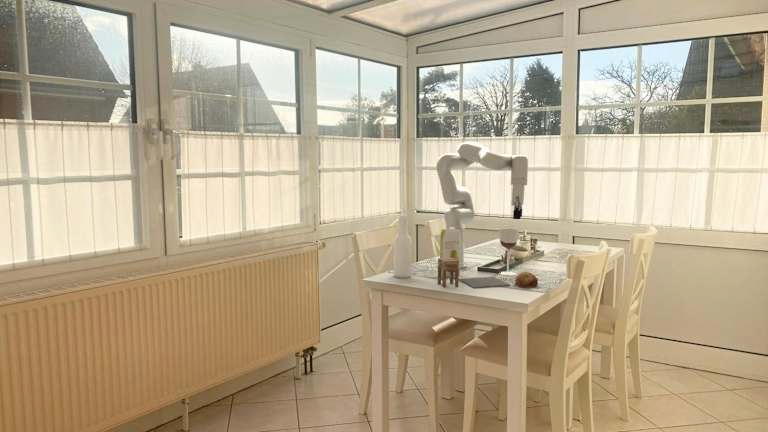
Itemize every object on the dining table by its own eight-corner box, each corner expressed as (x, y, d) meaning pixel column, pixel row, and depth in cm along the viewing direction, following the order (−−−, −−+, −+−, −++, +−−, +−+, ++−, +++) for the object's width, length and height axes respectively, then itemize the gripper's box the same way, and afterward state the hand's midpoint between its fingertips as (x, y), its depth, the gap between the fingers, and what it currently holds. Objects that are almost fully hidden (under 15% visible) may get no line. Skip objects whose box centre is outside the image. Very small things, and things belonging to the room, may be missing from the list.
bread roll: (515, 290, 264) (509, 275, 263) (535, 281, 264) (528, 265, 263) (522, 295, 254) (515, 280, 253) (543, 286, 255) (536, 270, 254)
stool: (437, 283, 260) (438, 258, 259) (452, 283, 262) (452, 257, 261) (443, 287, 254) (444, 261, 252) (458, 286, 256) (458, 260, 254)
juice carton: (444, 277, 274) (444, 228, 271) (438, 274, 281) (438, 226, 278) (461, 276, 276) (462, 228, 273) (455, 273, 284) (456, 225, 281)
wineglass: (517, 275, 279) (519, 231, 276) (497, 274, 281) (499, 230, 278) (517, 272, 287) (518, 229, 285) (497, 271, 289) (499, 228, 287)
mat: (458, 280, 269) (458, 278, 269) (492, 277, 274) (492, 276, 274) (473, 288, 252) (474, 287, 252) (510, 285, 257) (510, 284, 257)
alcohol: (391, 277, 274) (391, 215, 271) (396, 273, 283) (397, 213, 279) (408, 278, 271) (408, 216, 268) (413, 274, 280) (414, 214, 276)
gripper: (512, 180, 275) (511, 215, 277) (509, 182, 259) (507, 219, 261) (528, 181, 273) (527, 216, 275) (525, 182, 257) (524, 220, 259)
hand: (517, 217), depth 268 cm, fingers open, 9 cm apart
